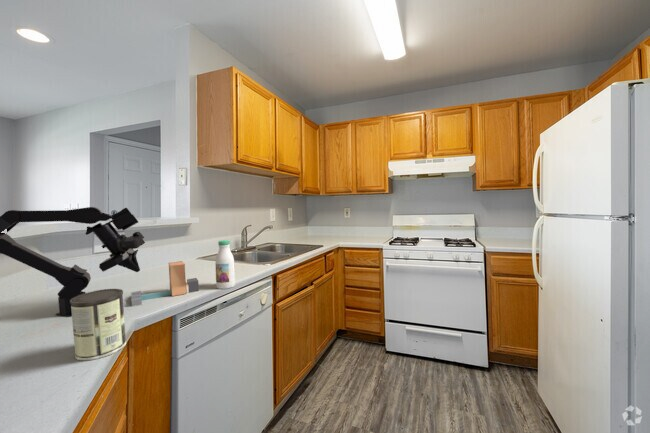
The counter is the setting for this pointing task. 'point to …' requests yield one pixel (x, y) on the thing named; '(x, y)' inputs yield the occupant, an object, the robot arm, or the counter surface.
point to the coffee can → (98, 323)
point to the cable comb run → (163, 292)
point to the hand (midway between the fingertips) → (138, 271)
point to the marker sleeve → (177, 278)
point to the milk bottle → (225, 266)
